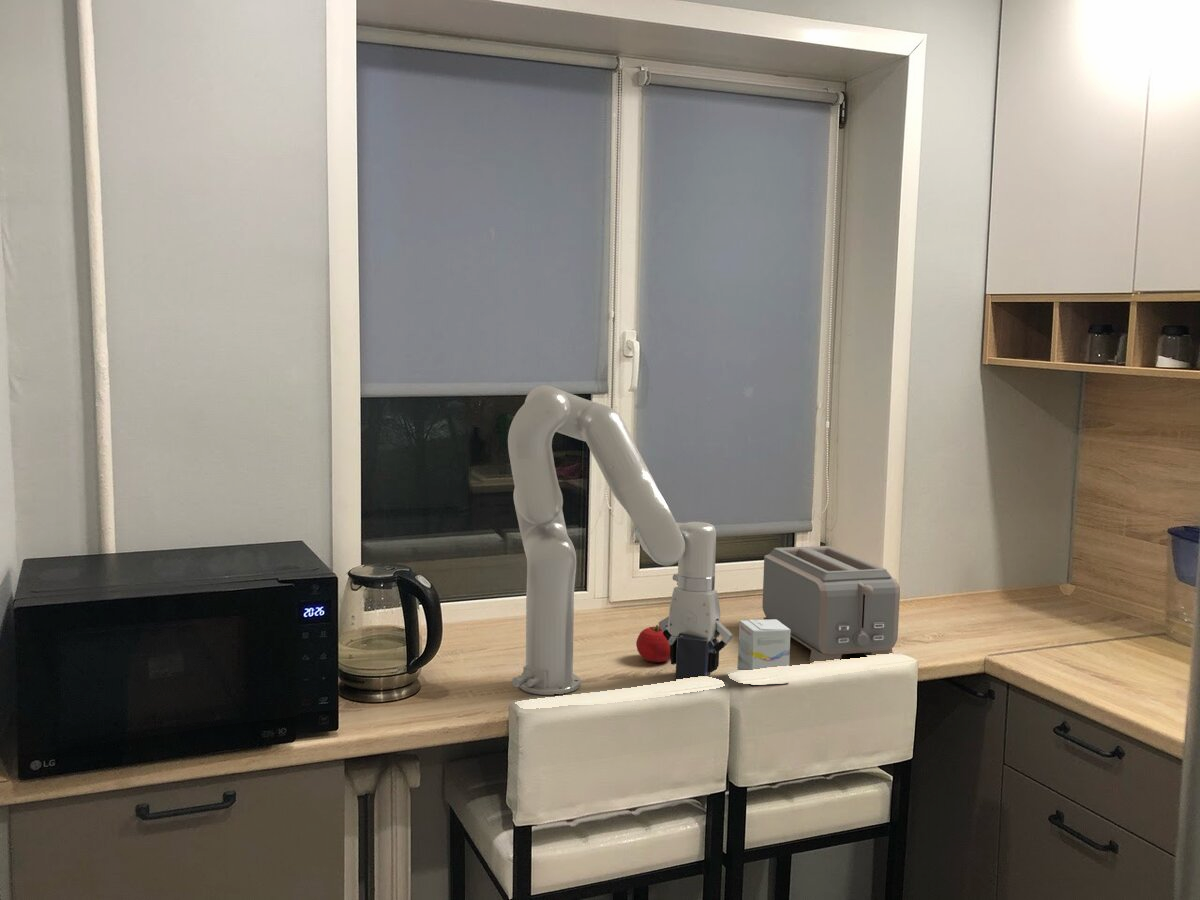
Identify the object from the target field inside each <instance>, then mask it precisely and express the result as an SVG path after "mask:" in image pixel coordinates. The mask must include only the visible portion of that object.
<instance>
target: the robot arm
mask: <svg viewBox="0 0 1200 900" xmlns="http://www.w3.org/2000/svg"><path fill="white" fill-rule="evenodd" d="M556 433H559V434H561V435H565V436H568V437H569V438H574V439H576V440H579V441H583V442H586V444H587V446H588V449H589V450H590V452H591V455H592V457H593V459H594V460H595V462H596V464H597V466H598V468H599V470H600V472H601V474H602V475H603V478H604V480H605V481H606V483H607V486H608V488H609V489H610V491H611V492H612V495H613V496H614V497H615V499H616V500H617V501H618V503H619V504H620V505H621V506H622V507H623V509H624V510H625V512H626V513H627V514H628V516H629V519H630V520H631V521H632V523H633V524H634V526H635V528H636V530H637V532H638V534H639V535H638V540H639V541H638V542H639V544H640V546H641V548H642V551H644V552H645V553H646V554H647V556H648V557H650V558H651V559H652V560H653V562H655V563H656V564H658V565H661V566H667V567H668V566H669V567H670V566H672V565H675V564H677V573H674V574H673V575H672V580H673V581H674V582H675V581H676V585H677V586H676V587H675V586H674V587H673V590H672V595H671V599H670V603H669V604H670V605H669V611H668V616H666V617H665V618H663V619H661V620H660V621H658V626H660V628H661V630H662V631H663V635H664V636H665V638H666V639H667V640H668V644H669V645H670V658H669V659H670V664H671V665H673V666H675V665H676V650H677V637H678V635H679V633H683V634H688V635H693V636H697V637H701V638H705V639H707V641H708V643H709V650H710V653H708V672H710V674H711V673H713V672H715V671H716V670H718V668H719V665H720V664H719V663H720V652H721V651H722V649H724V648H725V647H726V646H727V645H728V643H729V642H730V641H731V639H732V638H733V637H734V636H733V633H732V632H731V631H730V630H729V629H728V628H726V626H725V625H723V623H721V608H720V601H719V600H720V599H719V594H718V591H717V590H715V585H716V584H715V582H716V551H717V547H716V546H717V530H716V528H715V526H714V525H713V524H711V523H709V522H705V521H703V522H702V521H687V522H676V519H675V517H674V516H673V513H672V511H671V510H670V507H669V506H668V504H667V503H666V501H665V498H664V497H663V496H662V493H661V491H660V490H659V488H658V486H657V484H656V482H655V480H654V478H653V476H652V474H651V472H650V471H649V468H648V467H647V465H646V462H645V461H644V459H643V457H642V455H641V453H640V452H639V449H638V447H637V445H636V443H635V441H634V439H633V437H632V435H631V433H630V431H629V430H628V427H627V425H626V424H625V422H624V420H623V418H622V417H621V415H620V413H619V412H618V411H617V410H615V409H614V408H612V407H610V406H607V405H605V404H602V403H599V402H595V401H593V400H589V399H586V398H583V397H582V396H581V397H580V396H578V395H575V394H573V393H570V392H567V391H564V390H562V389H559V388H557V387H554V386H551V385H540V386H537V387H534V388H533V389H532V390H530V392H529V393H528V394H527V395H526V398H525V400H524V403H523V405H522V406H520V408H519V409H518V410H517V412H516V413H515V415H514V417H513V419H512V421H511V424H510V426H509V430H508V435H507V449H508V455H509V461H510V468H511V474H512V479H513V485H514V489H513V497H512V498H513V504H514V507H515V513H516V518H517V521H518V522H517V523H518V528H519V532H520V536H521V537H520V538H521V541H522V546H523V550H524V553H525V558H526V570H527V571H526V592H525V593H526V600H525V601H526V602H525V603H526V604H525V608H526V609H525V610H526V611H525V614H526V615H525V618H526V619H525V665H524V666H523V672H521V674H519V675H516V676H515V677H513V678H512V679H511V684H512V686H514V687H515V688H520V689H521V690H522V691H524V692H527V693H530V694H534V695H541V696H542V695H543V696H555V695H554V694H559V695H565V694H568V693H572V692H575V691H576V690H577V689H579V688H580V686H581V678H580V677H579V676H578V675H577V674H575V673H574V634H575V633H574V629H575V628H574V627H575V623H574V622H575V621H574V620H575V618H574V617H575V584H576V573H577V553H576V550H575V547H574V543H573V541H572V540H571V538H570V537H569V535H568V532H567V531H568V530H567V527H566V526H567V525H566V521H565V517H564V512H563V505H564V498H563V493H562V490H561V487H560V485H559V481H558V475H557V470H556V466H555V460H554V459H555V458H554V454H553V447H552V445H553V438H554V435H555V434H556ZM720 635H721V637H722V638H721V639H720V641H719V639H718V637H720ZM564 693H565V694H564Z"/></svg>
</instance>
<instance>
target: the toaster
mask: <svg viewBox="0 0 1200 900" xmlns="http://www.w3.org/2000/svg"><path fill="white" fill-rule="evenodd" d="M763 557H764V558H763V576H762V577H763V579H762V580H763V582H762V607H761V608H762V611H763V613H764V615H765V617H763V619H762V620H771V619H777V620H778V621H779V622H781V623H782V624H783V625H785V626H786V627H788V628H789V629H790V630H791V632H790V638H792V639H794V640H795V641H796V642H798V643H800V644H802V645H803V646H804V647H806V648H808V649H809V650H810V655H809V662H810V663H811V662H814V661H826V660H834V659H840V658H841V659H842V657H843V655H851V654H863V653H864V655H876V654H889V653H893V654H894V651H893V648H894V647H895V645H896V644H897V641H898V636H899V635H898V634H899V621H900V619H899V616H900V597H901V590H900V589H901V587H900V584H899V583H898V581H897V580H896V578H894V577H893V576H892V575H891V574H890V573H889V572H888V570H887V569H886V568H884V567H881V566H879V565H878V564H877V565H876V564H874V563H872V562H869V561H868V560H865V559H862V558H859V557H857V556H855V555H852V554H850V553H848V552H845V551H842V550H840V549H838V548H835V547H833V546H830V545H820V546H819V545H818V546H817V545H816V546H815V545H814V546H795V547H794V546H791V547H774V548H773V549H772V550H771V551H770V552H769V553H768V554H766V555H764V556H763Z"/></svg>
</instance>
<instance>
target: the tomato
mask: <svg viewBox="0 0 1200 900" xmlns="http://www.w3.org/2000/svg"><path fill="white" fill-rule="evenodd" d="M635 642H636V650H637V652H638V653H639V655H640V657H641V658H643V659H644V660H645V661H648V662H651V663H663V662H667V661H668V660H669V659H671V658H670V645H669V644H668V640H667V639H666V638H665V636H664V635H663V631H662V630H661V628H660V626H659V624H656V626H648V627H646V628H644V629H642V630H641V632H640V633H639V635H638V636H637V638H636V641H635Z"/></svg>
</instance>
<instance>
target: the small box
mask: <svg viewBox="0 0 1200 900" xmlns="http://www.w3.org/2000/svg"><path fill="white" fill-rule="evenodd" d="M708 653H710V650H709V643H708V641H707V639H705V638H701V637H697V636H693V635H688V634H683V633H679V635H678V637H677V650H676V664H675V673H674V674H675V678H674V681H675V680H676V679H683V678H690V677H698V676H709V675H711V673H710V672H708ZM709 677H710V676H709Z"/></svg>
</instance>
